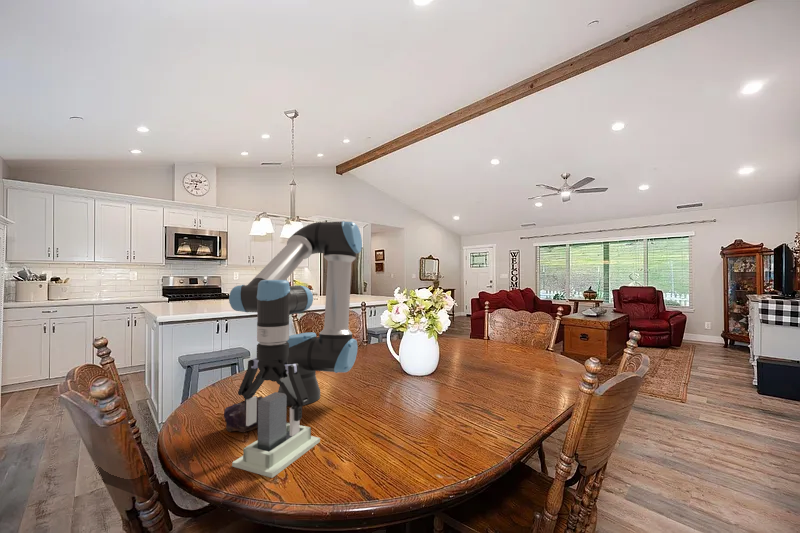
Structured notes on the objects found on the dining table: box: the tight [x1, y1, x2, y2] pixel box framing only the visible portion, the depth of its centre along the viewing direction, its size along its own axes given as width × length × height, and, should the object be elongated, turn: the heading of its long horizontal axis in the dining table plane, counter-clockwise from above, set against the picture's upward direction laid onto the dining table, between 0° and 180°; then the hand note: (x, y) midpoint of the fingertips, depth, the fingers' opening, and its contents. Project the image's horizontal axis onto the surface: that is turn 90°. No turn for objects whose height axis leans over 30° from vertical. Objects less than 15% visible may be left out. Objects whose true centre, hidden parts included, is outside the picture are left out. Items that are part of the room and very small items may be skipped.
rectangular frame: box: [231, 422, 321, 479], centre depth 88 cm, size 12×18×4 cm, turn 158°
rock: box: [223, 395, 264, 433], centre depth 102 cm, size 12×9×10 cm
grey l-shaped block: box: [257, 391, 297, 452], centre depth 88 cm, size 4×11×14 cm, turn 158°
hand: (272, 428), depth 86 cm, fingers open, 13 cm apart
